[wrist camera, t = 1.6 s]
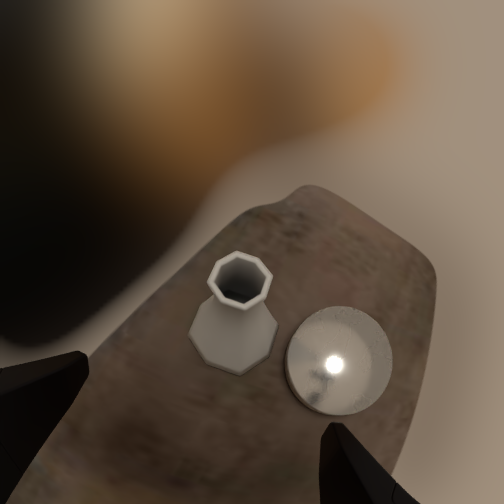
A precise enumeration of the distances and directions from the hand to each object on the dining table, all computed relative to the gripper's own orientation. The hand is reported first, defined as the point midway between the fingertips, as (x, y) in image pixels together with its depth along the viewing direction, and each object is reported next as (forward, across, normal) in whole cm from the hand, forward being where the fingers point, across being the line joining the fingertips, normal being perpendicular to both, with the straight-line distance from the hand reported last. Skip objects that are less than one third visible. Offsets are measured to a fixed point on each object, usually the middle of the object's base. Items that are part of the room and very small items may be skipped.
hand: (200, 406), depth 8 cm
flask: (+14, 0, +5) cm, 15 cm away
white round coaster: (+13, -9, +5) cm, 17 cm away
